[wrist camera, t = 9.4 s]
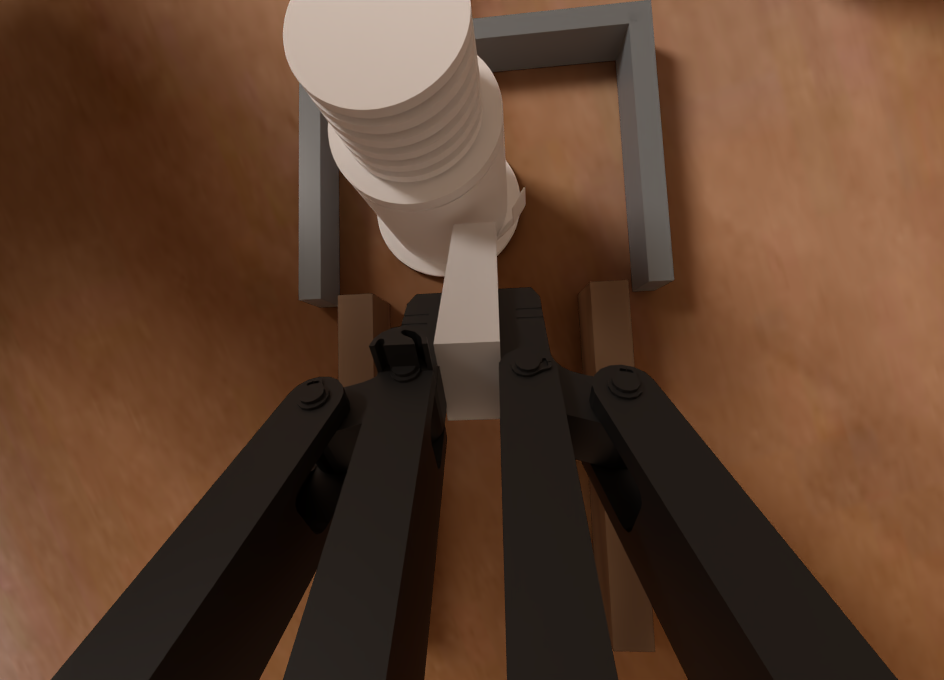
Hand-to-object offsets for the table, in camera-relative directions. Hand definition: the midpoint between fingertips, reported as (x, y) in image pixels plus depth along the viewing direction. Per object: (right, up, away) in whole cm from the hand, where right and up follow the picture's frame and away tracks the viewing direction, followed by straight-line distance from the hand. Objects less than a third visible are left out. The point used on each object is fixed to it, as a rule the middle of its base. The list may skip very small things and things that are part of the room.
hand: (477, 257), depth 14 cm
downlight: (-1, +3, +5) cm, 6 cm away
